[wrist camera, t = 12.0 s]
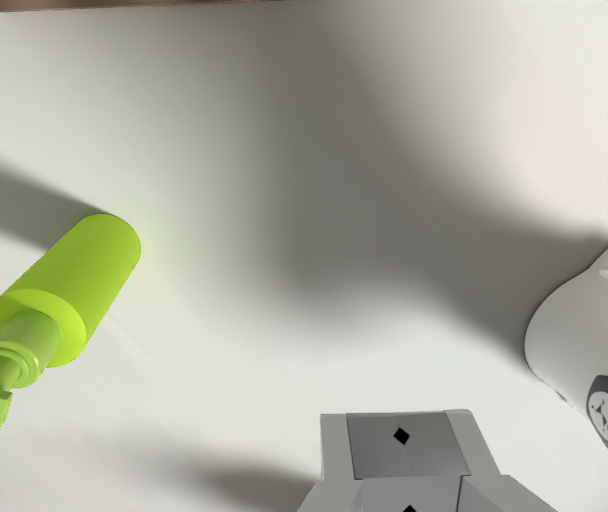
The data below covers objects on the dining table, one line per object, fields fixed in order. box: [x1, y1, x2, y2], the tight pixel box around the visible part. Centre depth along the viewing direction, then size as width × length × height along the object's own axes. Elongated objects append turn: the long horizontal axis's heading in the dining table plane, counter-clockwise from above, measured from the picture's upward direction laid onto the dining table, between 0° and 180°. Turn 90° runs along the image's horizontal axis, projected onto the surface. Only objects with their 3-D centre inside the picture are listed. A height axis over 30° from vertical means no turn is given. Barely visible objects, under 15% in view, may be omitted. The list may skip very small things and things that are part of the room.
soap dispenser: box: [0, 214, 141, 426], centre depth 33 cm, size 6×7×20 cm
